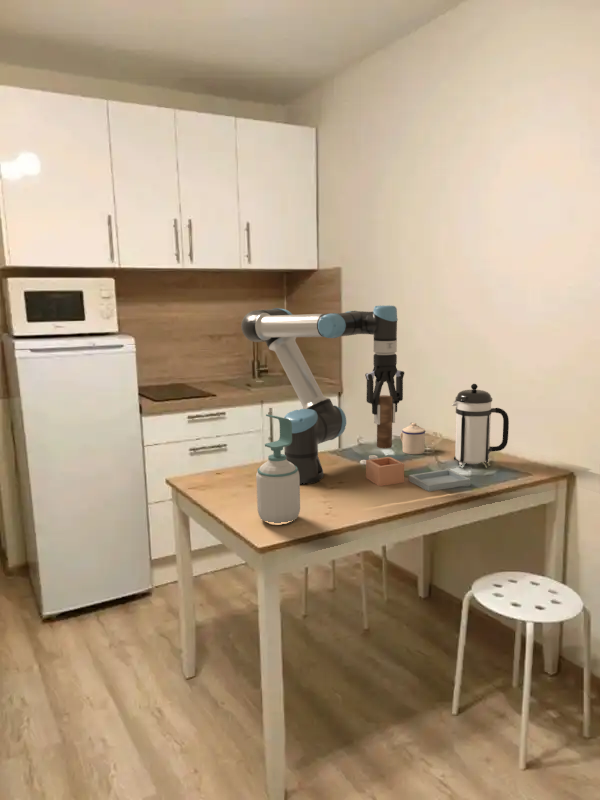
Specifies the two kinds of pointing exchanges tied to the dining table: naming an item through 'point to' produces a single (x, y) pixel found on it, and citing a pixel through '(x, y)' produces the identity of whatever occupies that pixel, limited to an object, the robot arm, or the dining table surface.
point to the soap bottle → (278, 481)
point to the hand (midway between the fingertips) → (384, 422)
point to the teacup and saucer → (369, 458)
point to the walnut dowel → (385, 422)
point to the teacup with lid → (413, 439)
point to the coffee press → (476, 426)
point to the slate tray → (439, 480)
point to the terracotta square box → (385, 471)
